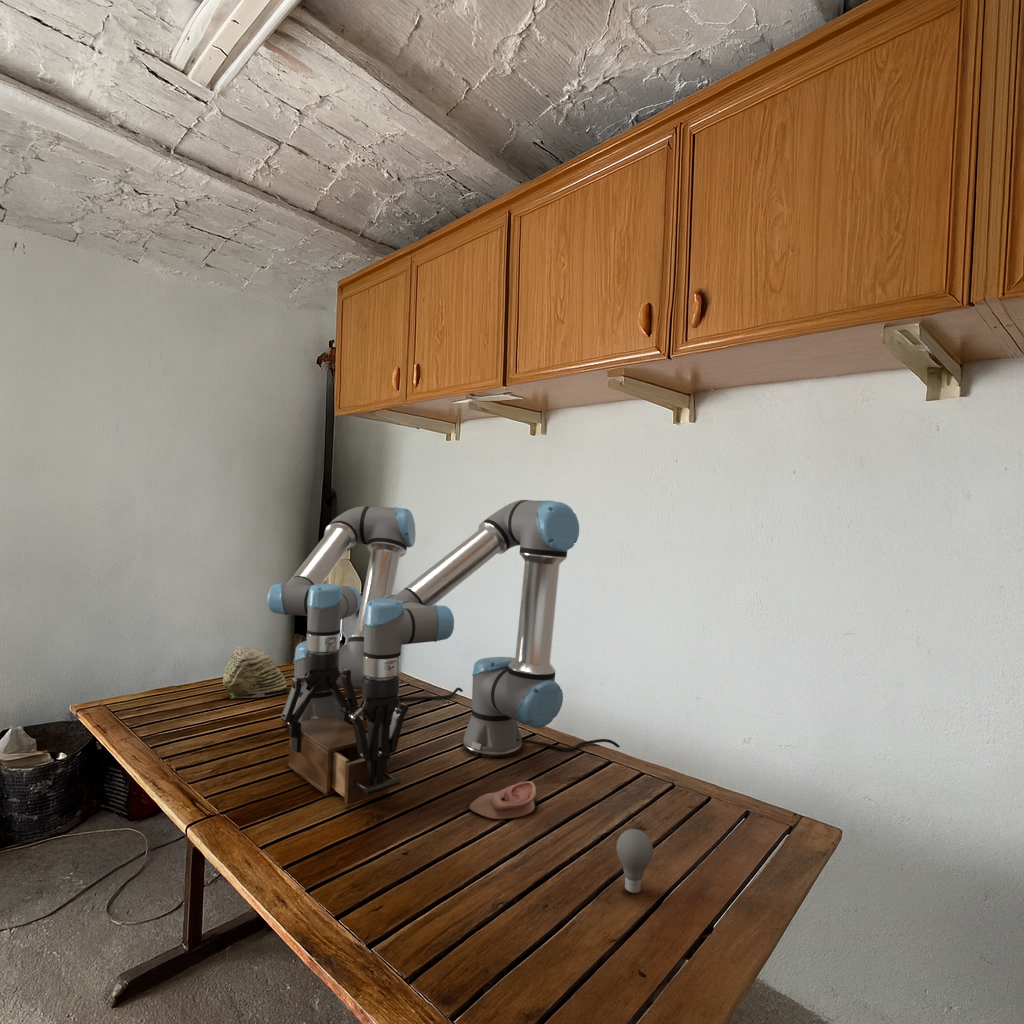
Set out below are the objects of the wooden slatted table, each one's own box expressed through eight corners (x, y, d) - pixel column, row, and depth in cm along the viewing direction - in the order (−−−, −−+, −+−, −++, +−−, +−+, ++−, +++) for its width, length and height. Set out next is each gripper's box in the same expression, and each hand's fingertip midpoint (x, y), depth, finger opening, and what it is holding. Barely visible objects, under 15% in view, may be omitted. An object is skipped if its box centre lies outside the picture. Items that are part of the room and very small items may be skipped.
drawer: (403, 801, 131) (405, 762, 131) (362, 816, 125) (363, 775, 125) (346, 763, 148) (348, 729, 148) (307, 774, 142) (309, 738, 142)
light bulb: (610, 879, 108) (613, 822, 108) (644, 879, 109) (647, 822, 109) (619, 902, 102) (622, 840, 102) (655, 901, 103) (658, 840, 103)
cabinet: (371, 782, 142) (373, 737, 141) (326, 796, 134) (328, 749, 134) (331, 754, 155) (332, 714, 155) (288, 766, 148) (289, 723, 148)
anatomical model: (465, 795, 128) (479, 772, 140) (464, 815, 128) (479, 790, 140) (530, 804, 126) (539, 780, 137) (529, 824, 126) (538, 798, 137)
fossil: (218, 695, 195) (220, 647, 195) (278, 685, 208) (279, 640, 207) (228, 703, 189) (230, 653, 188) (289, 692, 201) (290, 645, 201)
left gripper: (281, 661, 137) (277, 762, 138) (375, 647, 153) (371, 737, 154) (267, 654, 143) (263, 751, 143) (359, 641, 159) (356, 728, 159)
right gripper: (361, 685, 122) (356, 805, 123) (418, 675, 131) (412, 787, 132) (343, 675, 128) (338, 791, 128) (398, 666, 137) (393, 774, 137)
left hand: (319, 744), depth 148 cm, fingers closed on cabinet, 11 cm apart
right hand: (375, 789), depth 130 cm, fingers closed
